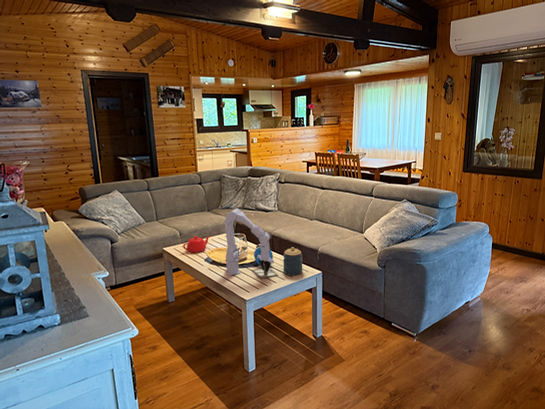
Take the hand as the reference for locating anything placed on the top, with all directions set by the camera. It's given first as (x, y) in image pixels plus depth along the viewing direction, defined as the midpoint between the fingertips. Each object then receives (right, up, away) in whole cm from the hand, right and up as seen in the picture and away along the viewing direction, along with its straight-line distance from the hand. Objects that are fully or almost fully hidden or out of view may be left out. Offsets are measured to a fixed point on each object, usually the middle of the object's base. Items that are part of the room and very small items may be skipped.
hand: (265, 270), depth 242 cm
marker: (0, -2, +1) cm, 2 cm away
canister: (+18, -2, +6) cm, 20 cm away
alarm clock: (-2, +1, +20) cm, 21 cm away
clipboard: (-1, -3, +5) cm, 5 cm away
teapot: (-56, +6, +55) cm, 79 cm away
